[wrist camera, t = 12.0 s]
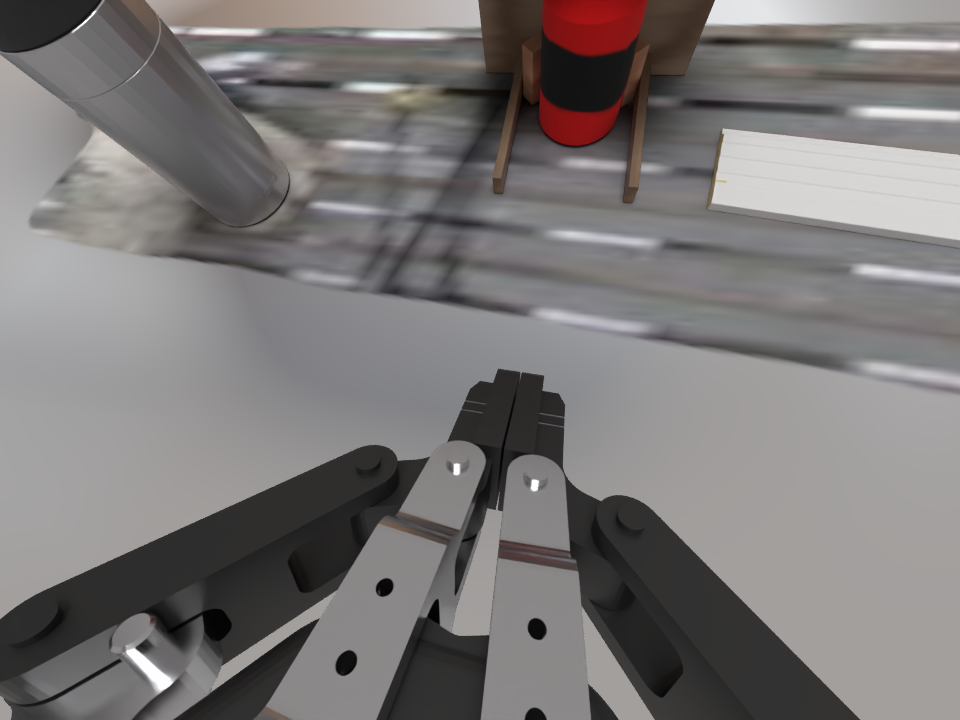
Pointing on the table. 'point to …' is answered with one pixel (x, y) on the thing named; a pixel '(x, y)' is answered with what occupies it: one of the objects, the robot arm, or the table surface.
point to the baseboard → (839, 186)
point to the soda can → (585, 65)
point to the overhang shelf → (659, 51)
